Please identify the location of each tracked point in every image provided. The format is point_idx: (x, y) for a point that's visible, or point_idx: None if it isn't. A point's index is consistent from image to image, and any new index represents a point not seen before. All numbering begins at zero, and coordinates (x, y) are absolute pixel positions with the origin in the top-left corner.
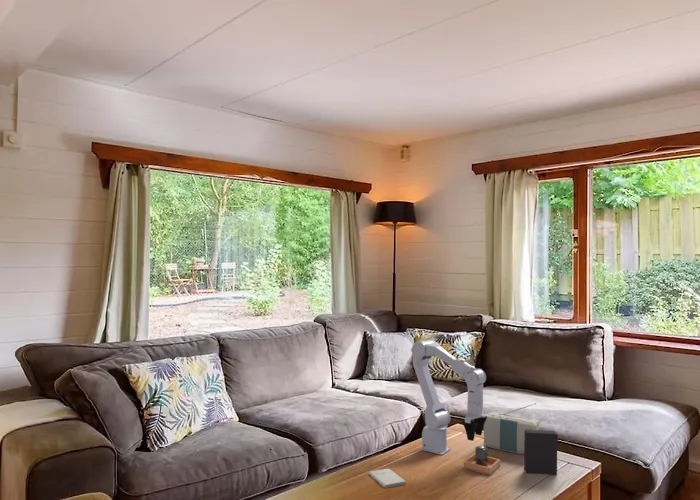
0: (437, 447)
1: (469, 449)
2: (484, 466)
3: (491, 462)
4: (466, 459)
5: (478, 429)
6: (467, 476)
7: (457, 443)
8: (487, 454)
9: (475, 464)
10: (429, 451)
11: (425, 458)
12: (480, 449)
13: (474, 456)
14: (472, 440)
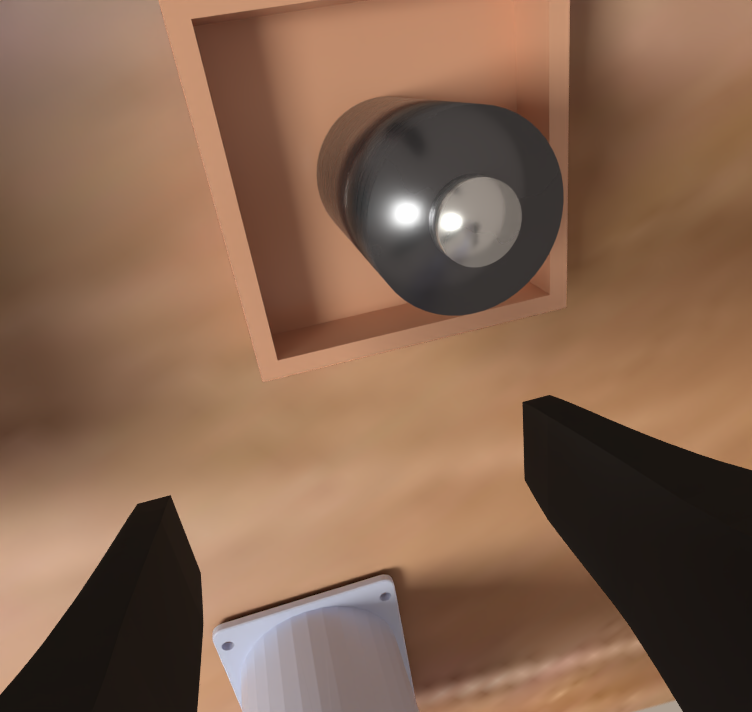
0: (394, 654)
1: (32, 554)
2: (562, 37)
3: (220, 129)
4: (493, 324)
5: (170, 624)
6: (681, 140)
7: None
8: (423, 104)
9: (566, 165)
10: (406, 653)
11: (528, 582)
12: (527, 203)
13: (295, 346)
14: (557, 400)
